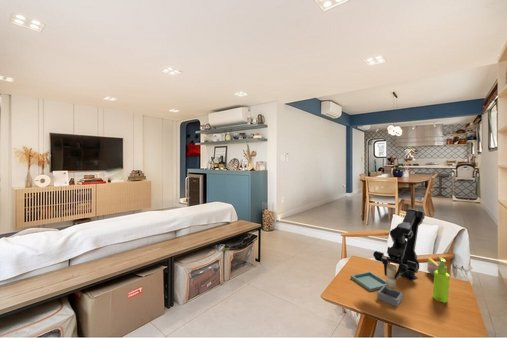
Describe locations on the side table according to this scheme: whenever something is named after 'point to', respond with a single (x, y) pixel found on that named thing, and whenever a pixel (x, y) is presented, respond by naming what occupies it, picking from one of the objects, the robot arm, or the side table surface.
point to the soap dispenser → (441, 282)
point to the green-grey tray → (369, 280)
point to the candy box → (432, 266)
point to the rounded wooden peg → (391, 277)
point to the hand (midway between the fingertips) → (390, 277)
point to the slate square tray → (390, 296)
